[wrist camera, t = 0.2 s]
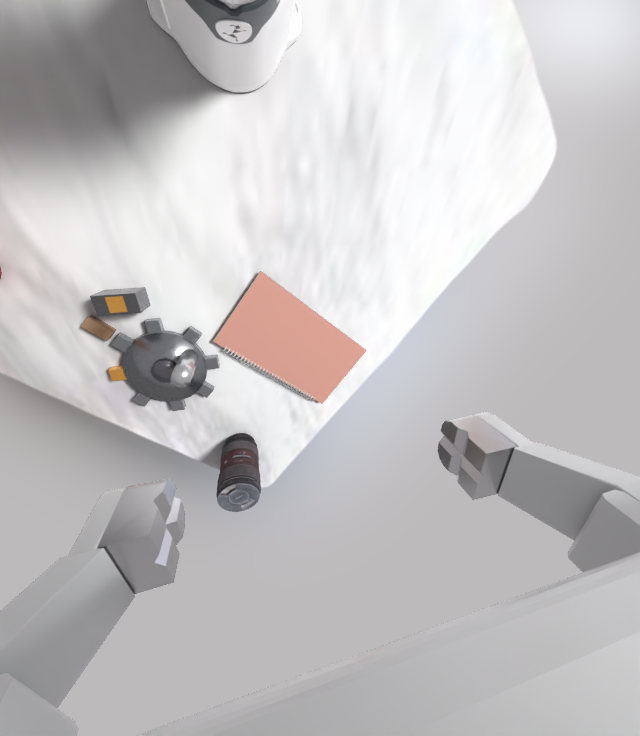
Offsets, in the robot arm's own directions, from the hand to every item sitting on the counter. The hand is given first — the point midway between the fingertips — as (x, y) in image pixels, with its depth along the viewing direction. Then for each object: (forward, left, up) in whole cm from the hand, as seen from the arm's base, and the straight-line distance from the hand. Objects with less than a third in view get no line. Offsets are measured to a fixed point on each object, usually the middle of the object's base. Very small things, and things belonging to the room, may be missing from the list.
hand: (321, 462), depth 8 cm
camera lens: (+38, -9, -48) cm, 62 cm away
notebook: (+15, +5, -48) cm, 51 cm away
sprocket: (+16, -19, -47) cm, 53 cm away
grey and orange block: (+3, -22, -48) cm, 52 cm away
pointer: (+8, -27, -47) cm, 55 cm away
